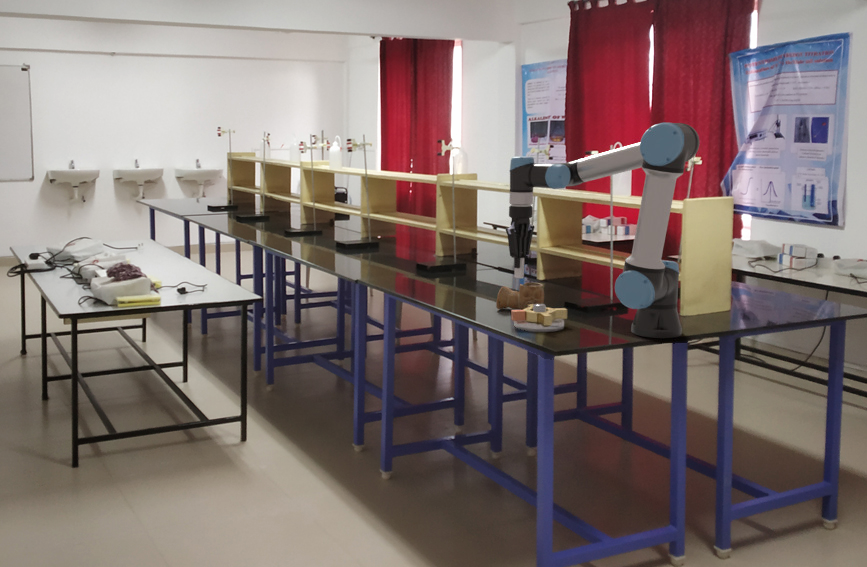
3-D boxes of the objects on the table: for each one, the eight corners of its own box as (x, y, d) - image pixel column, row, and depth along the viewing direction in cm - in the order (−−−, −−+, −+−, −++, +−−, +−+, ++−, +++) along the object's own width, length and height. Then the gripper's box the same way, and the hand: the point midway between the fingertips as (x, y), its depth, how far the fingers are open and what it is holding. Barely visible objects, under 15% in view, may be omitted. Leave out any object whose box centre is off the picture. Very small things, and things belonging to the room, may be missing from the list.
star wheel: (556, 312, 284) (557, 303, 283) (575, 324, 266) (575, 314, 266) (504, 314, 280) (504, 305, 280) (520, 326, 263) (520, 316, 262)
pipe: (502, 307, 304) (502, 279, 302) (546, 310, 298) (547, 282, 296) (494, 312, 296) (495, 283, 294) (540, 315, 290) (540, 286, 288)
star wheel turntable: (515, 320, 283) (516, 299, 282) (564, 321, 280) (564, 300, 279) (512, 331, 267) (512, 309, 266) (563, 333, 265) (564, 311, 263)
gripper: (523, 203, 279) (521, 273, 284) (499, 205, 270) (497, 278, 274) (542, 204, 274) (540, 276, 279) (518, 207, 265) (516, 281, 269)
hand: (519, 277), depth 276 cm, fingers closed
